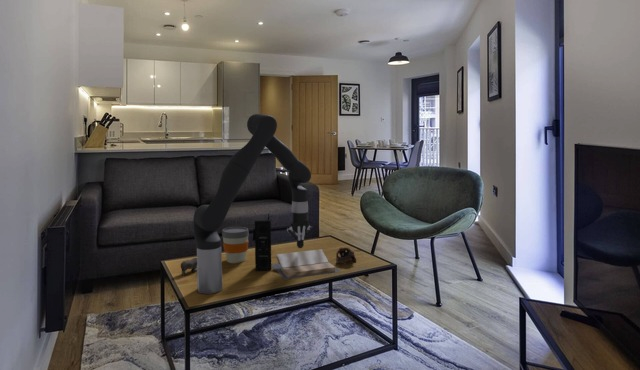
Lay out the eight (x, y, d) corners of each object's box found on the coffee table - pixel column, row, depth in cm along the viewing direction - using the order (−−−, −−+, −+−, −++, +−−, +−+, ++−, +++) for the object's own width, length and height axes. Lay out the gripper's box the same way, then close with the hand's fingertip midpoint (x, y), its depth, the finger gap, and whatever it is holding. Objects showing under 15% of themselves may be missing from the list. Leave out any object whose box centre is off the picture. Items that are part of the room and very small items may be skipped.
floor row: (287, 277, 182) (287, 273, 181) (282, 272, 188) (282, 268, 188) (335, 271, 190) (335, 267, 190) (328, 266, 196) (328, 262, 196)
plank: (281, 270, 189) (282, 267, 188) (276, 257, 196) (276, 254, 195) (327, 264, 197) (328, 261, 197) (321, 252, 204) (321, 249, 204)
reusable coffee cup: (252, 256, 212) (251, 226, 210) (245, 264, 200) (244, 233, 198) (227, 256, 213) (226, 226, 211) (219, 263, 201) (218, 232, 199)
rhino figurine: (208, 268, 195) (208, 255, 194) (184, 276, 184) (183, 263, 183) (202, 266, 197) (201, 253, 197) (177, 274, 186) (177, 261, 185)
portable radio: (253, 272, 189) (252, 216, 186) (253, 267, 195) (252, 213, 192) (271, 271, 191) (270, 215, 187) (270, 266, 197) (269, 212, 193)
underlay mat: (284, 280, 179) (284, 279, 179) (270, 264, 199) (270, 264, 199) (341, 272, 189) (341, 271, 189) (321, 258, 209) (321, 257, 209)
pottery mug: (361, 264, 202) (356, 252, 197) (344, 275, 199) (339, 262, 195) (349, 252, 211) (344, 239, 207) (332, 261, 209) (327, 249, 205)
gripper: (288, 213, 190) (289, 251, 193) (316, 211, 195) (316, 248, 198) (283, 210, 197) (283, 247, 200) (310, 208, 202) (310, 244, 205)
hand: (300, 247), depth 199 cm, fingers closed
